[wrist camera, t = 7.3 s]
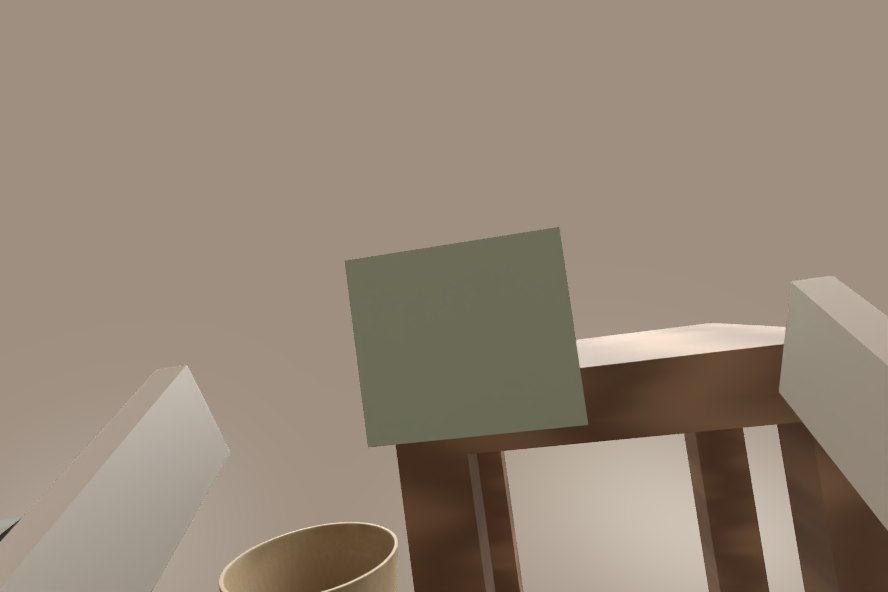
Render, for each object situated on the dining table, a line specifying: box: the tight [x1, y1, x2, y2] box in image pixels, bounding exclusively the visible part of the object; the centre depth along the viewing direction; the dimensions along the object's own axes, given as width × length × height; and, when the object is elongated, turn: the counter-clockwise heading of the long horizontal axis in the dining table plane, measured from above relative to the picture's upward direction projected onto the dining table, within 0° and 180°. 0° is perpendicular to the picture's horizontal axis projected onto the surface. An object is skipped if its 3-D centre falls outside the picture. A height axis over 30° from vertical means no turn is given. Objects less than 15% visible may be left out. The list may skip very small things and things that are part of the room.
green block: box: [345, 227, 588, 447], centre depth 22 cm, size 24×4×4 cm, turn 171°
